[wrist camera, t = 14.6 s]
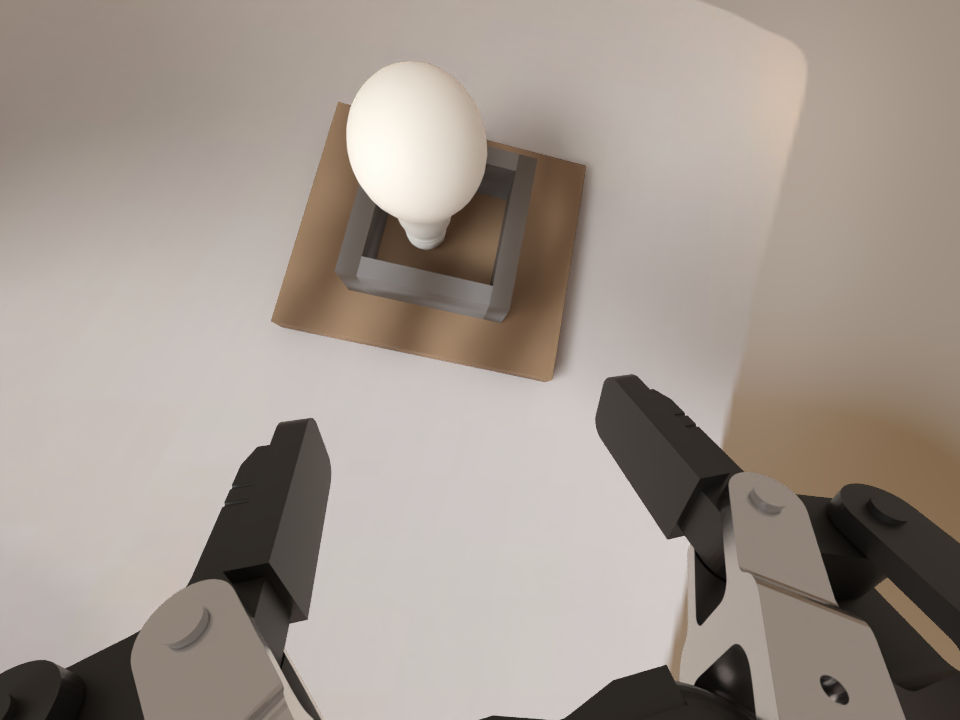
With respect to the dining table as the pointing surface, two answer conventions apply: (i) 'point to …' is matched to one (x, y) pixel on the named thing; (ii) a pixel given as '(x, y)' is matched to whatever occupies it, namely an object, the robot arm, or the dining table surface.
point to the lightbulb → (417, 147)
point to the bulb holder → (440, 265)
